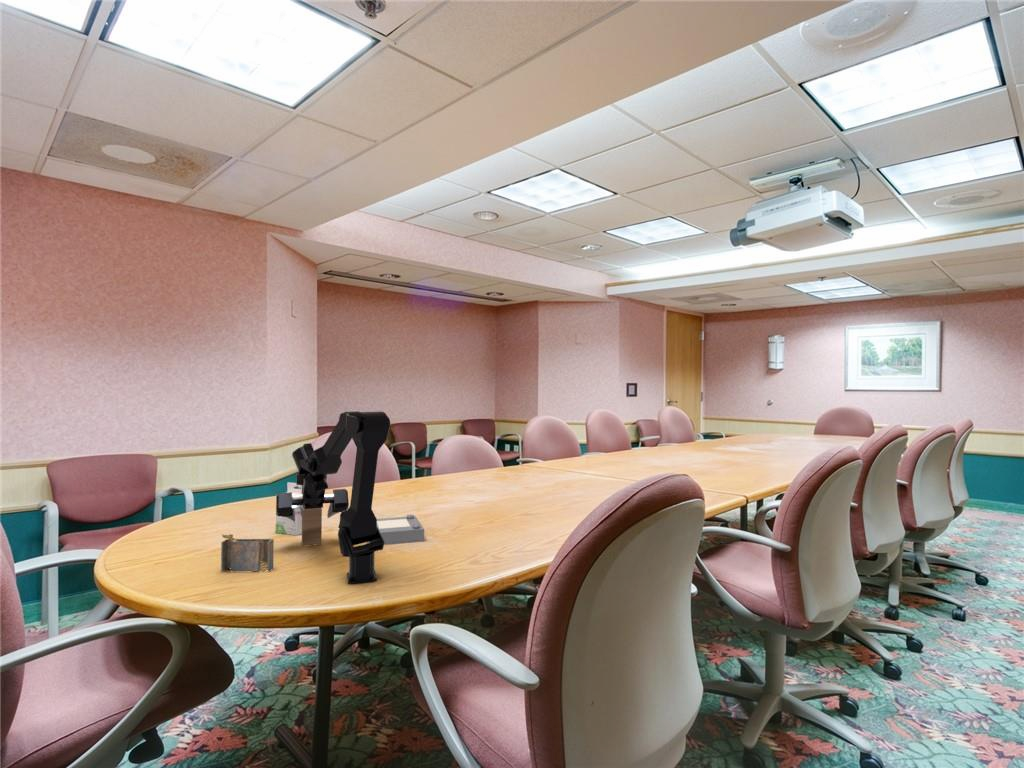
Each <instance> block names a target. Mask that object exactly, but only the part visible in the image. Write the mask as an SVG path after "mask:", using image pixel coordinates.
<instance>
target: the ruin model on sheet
mask: <svg viewBox="0 0 1024 768" xmlns="http://www.w3.org/2000/svg"><path fill="white" fill-rule="evenodd" d="M221 536H222V538H223V539H225V540H223V541H221V544H220V547H221V548H220V549H221V552H220V553H221V555H220V557H221V558H220V559H221V561H220V563H221V564H220V572H221V571H223V572H225V571H226V570H228V569H227V568H231V569H230V572H231V571H258V572H257V573H260V572H259V571H266V570H268V571H269V572H271V571H272V570H273V569H274V555H275V554H274V549H275V547H274V545H275V544H274V543H275V542H274V538H234V537H233V536H234V534H231V533H229V534H222V533H221ZM225 569H226V570H225ZM271 569H272V570H271ZM224 570H225V571H224ZM270 570H271V571H270Z"/></svg>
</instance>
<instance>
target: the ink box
mask: <svg viewBox="0 0 1024 768" xmlns="http://www.w3.org/2000/svg"><path fill="white" fill-rule="evenodd" d="M286 486H287V487H286V488H287V489H286V490H287V491H286V492H285V493H289V492H292V497H293V499H302V496H303V494H302V485H296V482H289V481H288V482H287V484H286ZM296 487H298V488H296ZM276 496H277V494H276ZM276 496H275V497H276ZM294 511H295V521H293V520H291V519H289V518H287V517H282V516H277V515H276V514H275V533H276V534H281V533H284V534H283V535H289V534H291V535H290V536H296V535H298V536H300V535H302V508H294ZM299 534H300V535H299Z"/></svg>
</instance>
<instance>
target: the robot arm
mask: <svg viewBox="0 0 1024 768" xmlns="http://www.w3.org/2000/svg"><path fill="white" fill-rule="evenodd" d="M390 427H391V419H390V417H389V416H388V415H387V414H386V413H385V412H384V411H381V410H380V411H344V412H341V413H340V414H339V417H338V422H337V423H336V425H335V427H334V428H333V430H332V431H331V433H330V435H329V436H328V438H327V439H326V441H325V442H324V444H323V445H322V446H321V447H318V448H316V449H315V450H314V447H313V444H312V443H309V442H308V443H304V444H303V445H302V446H299V447H298V448H297V449H295V450H293V452H292V453H291V457H292V459H293V462H294V464H295V466H296V468H297V471H298V472H296V475H295V476H296V478H295V480H296V482H295V483H296V485H302V494H303V496H302V499H293V497H292V492H289V493H286V492H280V493H278V494H276V495H277V496H275V497H276V501H275V516H276V515H277V516H282V517H287V518H289V519H291V520H293V521H295V511H294V508H304V509H313V508H322V509H323V507H324V504H329V506H328V509H327V515H326V516H327V519H330V518H332V517H333V516H335V515H337V514H338V513H340V514H339V523H338V531H337V537H338V545H339V549H340V553H341V554H342V557H344V558H345V557H346V558H349V560H348V562H349V563H348V564H349V566H348V567H349V569H348V572H346V581H347V584H348V585H351V584H360V583H368V582H376V581H378V577H377V572H376V570H375V552H378V551H383V549H384V547H385V546H384V540H383V538H382V536H381V534H380V532H379V530H378V528H377V519H378V518H377V516H376V515H375V513H374V510H373V509H372V507H373V499H374V491H375V484H376V475H377V466H378V458H379V451H380V450H381V448H382V447H383V446H384V445H385V442H386V441H387V440H388V438H389V437H388V436H389V431H390ZM351 441H353V443H354V445H355V447H356V454H355V460H354V461H355V462H354V469H353V470H354V471H353V477H352V488H351V493H350V500H349V492H348V490H347V489H346V488H337V489H332V493H331V494H326V489H329V485H328V483H327V479H328V475H334V474H337V473H338V471H339V470H340V467H341V465H342V463H343V461H342V458H341V457H342V455H343V453H344V451H345V450H346V448H347V447H348V445H349V444H350V442H351ZM349 501H350V504H349ZM369 541H370V543H369V544H367V542H369ZM363 543H364V544H363Z"/></svg>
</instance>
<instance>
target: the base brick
mask: <svg viewBox="0 0 1024 768" xmlns="http://www.w3.org/2000/svg"><path fill="white" fill-rule="evenodd" d="M377 528H378V530H379V532H380V534H381V536H382V538H383V540H384V545H385V544H386V545H394V544H395V543H397V544H405V543H406V542H408V543H417V542H416V541H420V542H424V541H425V528H424V526H423V525H422V524H421V522H420V521H419V518H417V516H416V515H414V514H407V515H406V516H399V517H397V516H396V517H386V518H377ZM369 543H370V541H369V542H366V544H369ZM406 544H407V543H406Z"/></svg>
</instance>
